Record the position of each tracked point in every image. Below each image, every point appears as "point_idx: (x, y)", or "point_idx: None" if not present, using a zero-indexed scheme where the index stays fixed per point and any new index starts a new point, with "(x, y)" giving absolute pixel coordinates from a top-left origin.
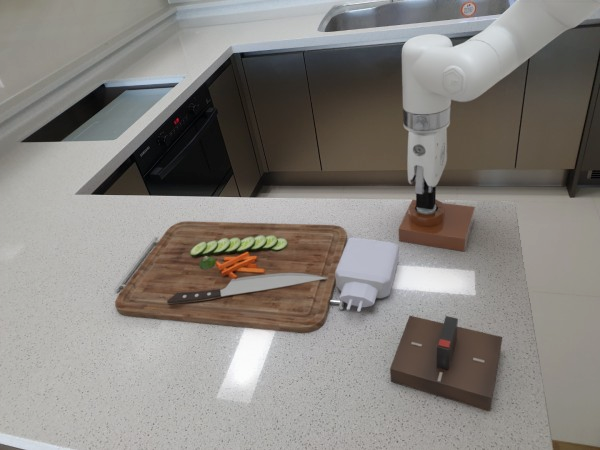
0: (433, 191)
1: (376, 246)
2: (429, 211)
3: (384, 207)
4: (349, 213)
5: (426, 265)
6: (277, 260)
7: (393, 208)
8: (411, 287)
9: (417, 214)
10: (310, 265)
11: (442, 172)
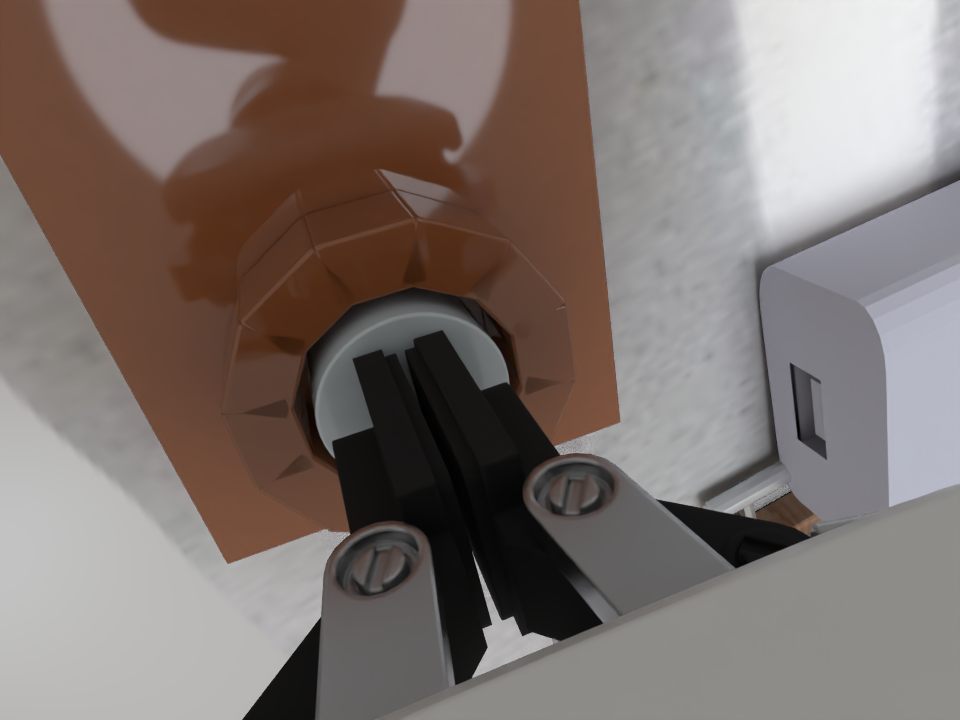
0: (514, 458)
1: (940, 406)
2: (484, 337)
3: (299, 629)
4: None
5: (730, 92)
6: None
7: (276, 589)
8: (917, 80)
9: (543, 400)
10: None
11: (518, 674)
